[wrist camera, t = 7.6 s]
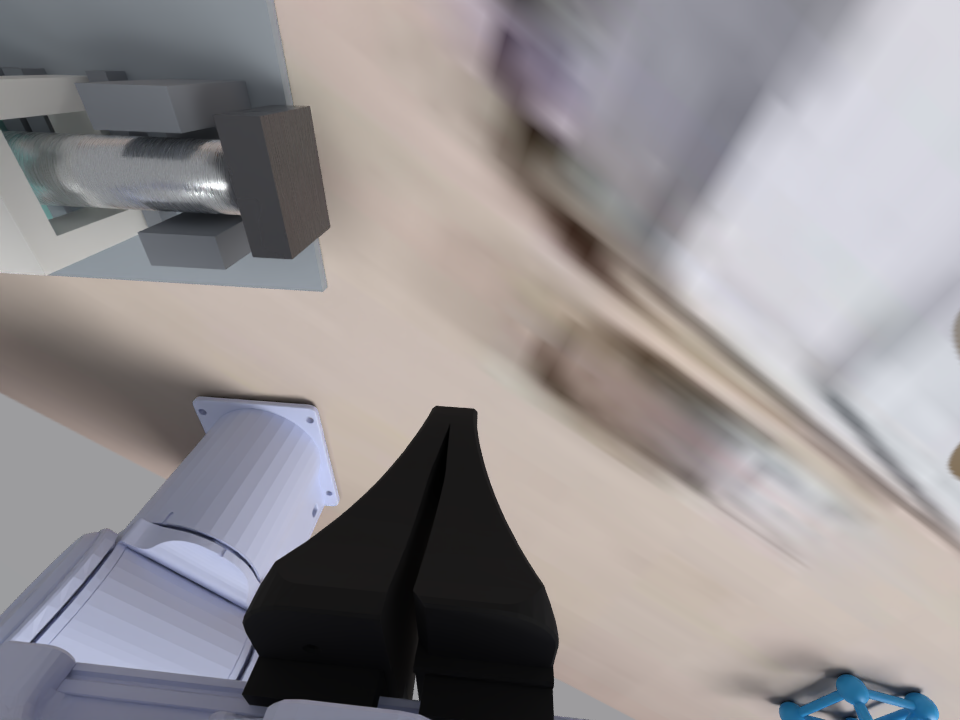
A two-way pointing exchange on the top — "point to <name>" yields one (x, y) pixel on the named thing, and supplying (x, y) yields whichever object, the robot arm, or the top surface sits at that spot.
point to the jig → (162, 115)
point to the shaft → (194, 174)
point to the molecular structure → (863, 703)
